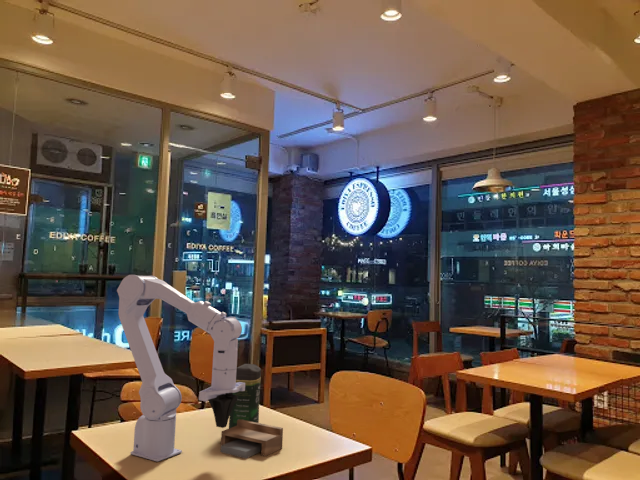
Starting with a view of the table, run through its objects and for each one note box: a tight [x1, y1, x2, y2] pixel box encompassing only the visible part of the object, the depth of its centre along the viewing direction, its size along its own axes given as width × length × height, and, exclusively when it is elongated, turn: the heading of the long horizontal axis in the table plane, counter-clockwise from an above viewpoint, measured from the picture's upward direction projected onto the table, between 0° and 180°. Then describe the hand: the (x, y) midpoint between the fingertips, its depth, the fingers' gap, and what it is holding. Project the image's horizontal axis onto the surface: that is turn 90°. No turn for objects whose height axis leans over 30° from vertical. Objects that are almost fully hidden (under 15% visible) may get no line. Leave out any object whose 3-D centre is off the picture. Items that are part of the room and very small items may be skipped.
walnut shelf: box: [220, 419, 284, 457], centre depth 127 cm, size 14×8×5 cm, turn 61°
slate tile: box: [220, 439, 262, 459], centre depth 124 cm, size 8×8×2 cm
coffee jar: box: [228, 363, 262, 429], centre depth 141 cm, size 10×8×19 cm
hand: (221, 426), depth 117 cm, fingers closed
